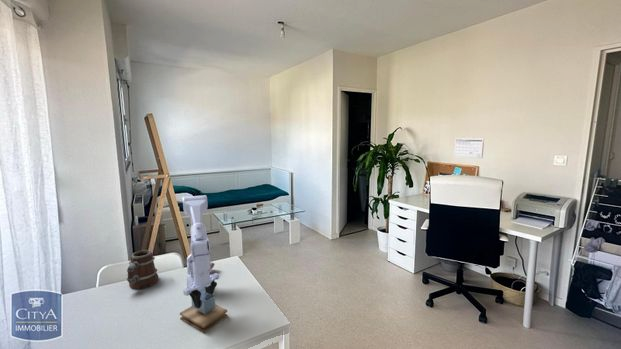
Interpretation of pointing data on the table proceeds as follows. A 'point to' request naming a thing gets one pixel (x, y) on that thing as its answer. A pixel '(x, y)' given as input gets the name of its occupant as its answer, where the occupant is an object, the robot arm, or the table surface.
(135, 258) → the brown wooden bucket
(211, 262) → the video game controller
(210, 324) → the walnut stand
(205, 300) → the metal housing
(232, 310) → the table surface
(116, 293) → the table surface
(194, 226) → the robot arm
